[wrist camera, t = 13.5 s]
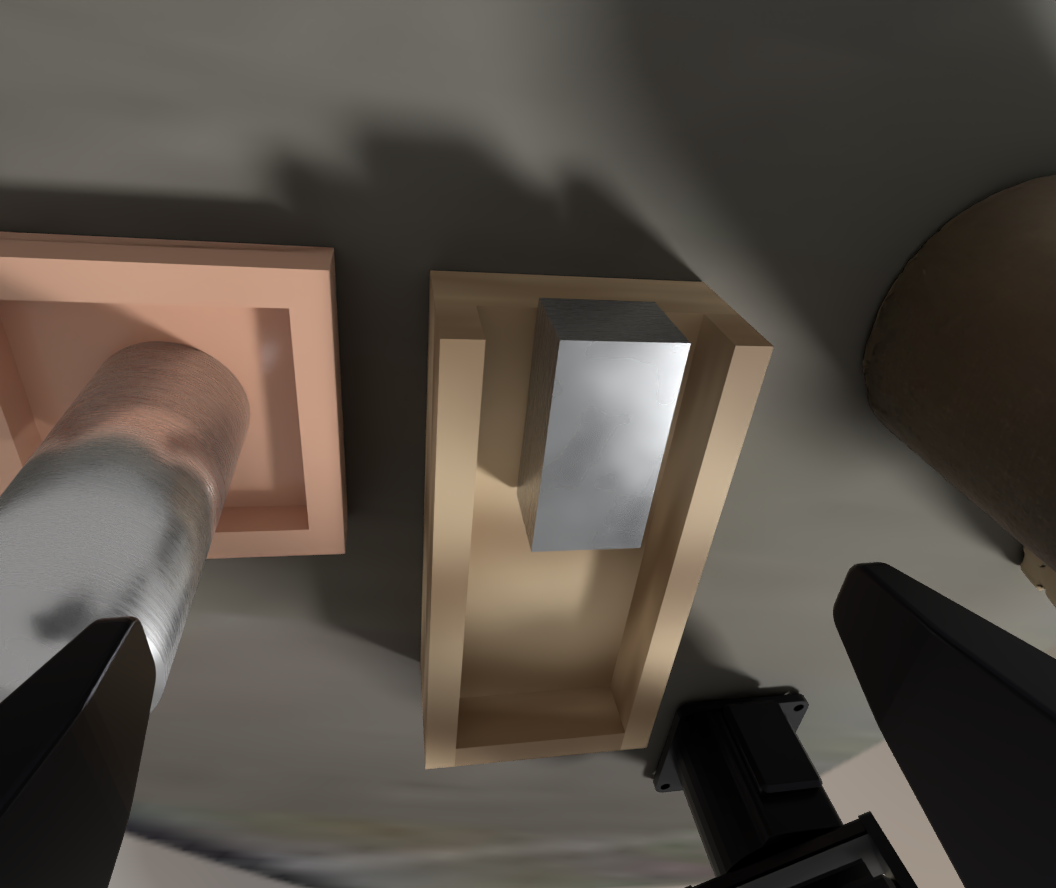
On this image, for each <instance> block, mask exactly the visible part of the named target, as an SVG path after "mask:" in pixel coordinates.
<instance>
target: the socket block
mask: <svg viewBox="0 0 1056 888" xmlns="http://www.w3.org/2000/svg"><path fill="white" fill-rule="evenodd" d="M539 298H563V299H591V300H619V301H647V302H656V304H657V305H658V306H659V307H660V308H661V309H662V311H663V312H664V313H665V314H666V315H667V316H668V318H669V319H670V320H671V321H672V322H673V323H674V324H675V326H676V327H677V328H678V329H679V330H680V331H681V333H682V334H683V335H684V336H685V337H686V338H687V340H688V341H689V342H690V343H691V344H690V349H689V353H688V357H687V361H686V365H685V369H684V373H683V377H682V381H681V385H680V389H679V393H678V397H677V401H676V405H675V409H674V413H673V417H672V421H671V426H670V430H669V434H668V438H667V442H666V446H665V450H664V454H663V458H662V462H661V466H660V470H659V474H658V478H657V482H656V486H655V490H654V494H653V499H652V503H651V507H650V511H649V515H648V519H647V523H646V527H645V531H644V535H643V539H642V543H641V547H640V548H624V549H598V550H571V551H545V552H531V549H530V545H529V541H528V537H527V533H526V529H525V525H524V522H523V518H522V514H521V510H520V506H519V502H518V498H517V486H518V478H519V469H520V460H521V451H522V442H523V434H524V425H525V416H526V407H527V398H528V390H529V381H530V372H531V363H532V354H533V346H534V337H535V328H536V319H537V310H538V302H539ZM773 348H774V346H773V345H772V344H771V343H769V342H768V341H767V340H766V339H765V338H764V337H763V336H762V335H761V334H760V333H759V332H757V331H756V330H755V329H754V328H753V327H752V326H751V325H750V324H749V323H748V322H746V321H745V320H744V319H743V318H742V317H741V316H740V315H739V314H738V313H737V312H736V311H734V310H733V309H732V308H731V307H730V306H729V305H728V304H727V303H726V302H725V301H724V300H722V299H721V298H720V297H719V296H718V295H717V294H716V293H715V292H714V291H713V290H712V289H710V288H709V287H708V286H707V285H706V284H705V283H704V282H692V281H669V280H645V279H622V278H598V277H575V276H551V275H528V274H505V273H481V272H458V271H434V270H430V293H429V334H428V375H427V417H426V458H425V499H424V540H423V581H422V622H421V663H420V664H421V685H422V707H423V728H424V750H425V769H433V768H443V767H454V766H464V765H474V764H484V763H494V762H505V761H515V760H525V759H535V758H545V757H556V756H566V755H576V754H586V753H596V752H607V751H617V750H627V749H637V748H646V747H647V744H648V741H649V738H650V735H651V731H652V728H653V725H654V722H655V719H656V716H657V713H658V709H659V706H660V703H661V700H662V697H663V694H664V691H665V687H666V684H667V681H668V678H669V675H670V672H671V669H672V665H673V662H674V659H675V656H676V653H677V650H678V647H679V643H680V640H681V637H682V634H683V631H684V628H685V625H686V621H687V618H688V615H689V612H690V609H691V606H692V603H693V599H694V596H695V593H696V590H697V587H698V584H699V581H700V577H701V574H702V571H703V568H704V565H705V562H706V559H707V555H708V552H709V549H710V546H711V543H712V540H713V537H714V533H715V530H716V527H717V524H718V521H719V518H720V515H721V511H722V508H723V505H724V502H725V499H726V496H727V493H728V489H729V486H730V483H731V480H732V477H733V474H734V471H735V467H736V464H737V461H738V458H739V455H740V452H741V449H742V445H743V442H744V439H745V436H746V433H747V430H748V426H749V423H750V420H751V417H752V414H753V411H754V408H755V404H756V401H757V398H758V395H759V392H760V389H761V386H762V382H763V379H764V376H765V373H766V370H767V367H768V364H769V360H770V357H771V354H772V351H773Z"/></svg>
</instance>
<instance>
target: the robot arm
mask: <svg viewBox="0 0 1056 888" xmlns="http://www.w3.org/2000/svg"><path fill="white" fill-rule="evenodd" d="M833 618H834V622H835V625H836V628H837V630H838V633H839V635H840V637H841V640H842V642H843V644H844V647H845V649H846V652H847V654H848V656H849V659H850V661H851V663H852V666H853V668H854V671H855V673H856V675H857V678H858V680H859V682H860V685H861V687H862V690H863V692H864V694H865V697H866V699H867V701H868V704H869V706H870V709H871V711H872V713H873V715H874V717H875V720H876V722H877V724H878V726H879V728H880V730H881V732H882V734H883V736H884V738H885V740H886V742H887V744H888V746H889V748H890V749H891V751H892V753H893V755H894V757H895V759H896V761H897V763H898V764H899V766H900V768H901V770H902V772H903V774H904V775H905V777H906V779H907V781H908V783H909V785H910V787H911V788H912V790H913V792H914V794H915V796H916V798H917V800H918V801H919V803H920V805H921V807H922V809H923V811H924V812H925V814H926V816H927V818H928V820H929V822H930V824H931V826H932V827H933V829H934V831H935V832H936V835H937V837H938V839H939V840H940V842H941V844H942V846H943V848H944V850H945V852H946V853H947V855H948V857H949V859H950V861H951V863H952V864H953V866H954V868H955V870H956V872H957V874H958V876H959V878H960V879H961V881H962V883H963V885H964V887H965V888H1056V659H1055V658H1053V657H1051V656H1049V655H1047V654H1046V653H1044V652H1042V651H1040V650H1039V649H1037V648H1035V647H1033V646H1032V645H1030V644H1028V643H1026V642H1024V641H1023V640H1021V639H1019V638H1017V637H1016V636H1014V635H1012V634H1010V633H1009V632H1007V631H1005V630H1003V629H1001V628H1000V627H998V626H996V625H994V624H993V623H991V622H989V621H987V620H986V619H984V618H982V617H980V616H978V615H977V614H975V613H973V612H971V611H970V610H968V609H966V608H964V607H963V606H961V605H959V604H957V603H955V602H954V601H952V600H950V599H948V598H947V597H945V596H943V595H941V594H940V593H938V592H936V591H934V590H932V589H931V588H929V587H927V586H925V585H924V584H922V583H920V582H918V581H917V580H915V579H913V578H911V577H909V576H908V575H906V574H904V573H902V572H901V571H899V570H897V569H895V568H894V567H892V566H890V565H888V564H886V563H881V562H873V563H859V564H855V565H854V566H852V567H851V568H850V569H849V571H848V573H847V575H846V578H845V580H844V582H843V585H842V587H841V589H840V592H839V594H838V597H837V599H836V601H835V604H834V607H833ZM155 682H156V667H155V662H154V659H153V656H152V653H151V650H150V647H149V644H148V641H147V638H146V635H145V632H144V629H143V626H142V624H141V622H140V621H139V619H138V618H136V617H133V616H124V617H110V618H101V619H97V620H96V621H94V622H92V623H91V624H89V625H88V626H87V627H86V628H85V629H84V630H83V631H81V632H80V633H79V634H78V635H77V636H76V637H75V638H73V639H72V640H71V641H70V642H69V643H68V644H67V645H65V646H64V647H63V648H62V649H61V650H60V651H59V652H57V653H56V654H55V655H54V656H53V657H52V658H51V659H50V660H48V661H47V662H46V663H45V664H44V665H43V666H42V667H40V668H39V669H38V670H37V671H36V672H35V673H34V674H32V675H31V676H30V677H29V678H28V679H27V680H26V681H24V682H23V683H22V684H21V685H20V686H19V687H18V688H16V689H15V690H14V691H13V692H12V693H11V694H10V695H8V696H7V697H6V698H5V699H4V700H3V701H2V702H0V888H108V885H109V882H110V879H111V875H112V872H113V869H114V866H115V862H116V859H117V856H118V853H119V850H120V847H121V843H122V840H123V837H124V833H125V830H126V826H127V823H128V819H129V816H130V811H131V806H132V802H133V797H134V792H135V787H136V782H137V777H138V772H139V766H140V761H141V756H142V751H143V746H144V740H145V735H146V730H147V725H148V720H149V714H150V709H151V704H152V699H153V694H154V688H155ZM808 706H809V704H808V702H807V700H806V699H805V697H804V695H802V694H793V695H781V696H769V697H758V698H746V699H734V700H723V701H711V702H699V703H689V704H685V705H683V706H681V707H680V708H678V710H677V712H676V715H675V718H674V721H673V724H672V727H671V730H670V733H669V736H668V738H667V741H666V744H665V747H664V750H663V753H662V756H661V759H660V762H659V765H658V768H657V771H656V774H655V777H654V779H653V783H654V786H655V789H656V791H657V792H671V791H680V790H683V791H684V794H685V796H686V799H687V802H688V805H689V807H690V810H691V813H692V815H693V818H694V821H695V823H696V826H697V829H698V832H699V834H700V837H701V840H702V842H703V845H704V848H705V851H706V853H707V856H708V859H709V861H710V864H711V867H712V870H713V872H714V875H715V878H714V879H711V880H709V881H706V882H704V883H701V884H699V885H697V886H694V887H692V886H691V885H690V886H688V887H685V888H918V887H917V885H916V884H915V882H914V881H913V879H912V877H911V876H910V874H909V873H908V871H907V869H906V868H905V866H904V865H903V863H902V861H901V860H900V858H899V856H898V855H897V853H896V852H895V850H894V848H893V847H892V845H891V844H890V842H889V840H888V839H887V837H886V836H885V834H884V832H883V831H882V829H881V828H880V826H879V824H878V823H877V821H876V820H875V818H874V816H873V815H872V813H871V812H870V811H869V812H867V813H864V814H862V815H859V816H858V817H859V819H856V820H854V821H852V822H849V823H847V824H844V825H843V823H842V821H841V819H840V818H839V816H838V814H837V812H836V810H835V808H834V806H833V804H832V803H831V801H830V799H829V797H828V795H827V794H826V792H825V790H824V788H823V786H822V780H821V778H820V776H819V774H818V772H817V771H816V769H815V767H814V765H813V763H812V762H811V760H810V758H809V756H808V754H807V752H806V751H805V749H804V747H803V745H802V743H801V742H800V740H799V738H798V736H797V734H796V730H797V728H798V727H799V725H800V723H801V721H802V719H803V717H804V715H805V713H806V711H807V709H808ZM883 874H885V876H884V875H883Z"/></svg>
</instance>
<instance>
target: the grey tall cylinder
mask: <svg viewBox="0 0 1056 888" xmlns="http://www.w3.org/2000/svg"><path fill="white" fill-rule="evenodd" d="M250 417H251V414H250V405H249V400H248V397H247V395H246V392H245V390H244V388H243V387H242V385H241V383H240V382H239V380H238V379H237V378H236V376H235V375H234V374H233V373H232V372H231V371H230V370H229V369H228V368H227V367H226V366H225V365H223V364H222V363H221V362H220V361H218V360H217V359H215V358H214V357H212V356H211V355H209V354H207V353H205V352H203V351H201V350H198V349H196V348H193V347H190V346H187V345H183V344H179V343H173V342H164V341H152V342H143V343H138V344H134V345H131V346H128V347H126V348H123V349H121V350H119V351H117V352H116V353H114V354H113V355H111V356H110V357H109V358H108V359H107V360H106V361H105V362H104V363H103V364H102V365H101V367H100V368H99V369H98V371H97V372H96V373H95V374H94V376H93V377H92V378H91V380H90V381H89V382H88V383H87V385H86V386H85V387H84V389H83V390H82V391H81V392H80V394H79V395H78V396H77V398H76V399H75V400H74V402H73V403H72V404H71V405H70V407H69V408H68V409H67V411H66V412H65V413H64V414H63V416H62V417H61V418H60V420H59V421H58V422H57V423H56V425H55V426H54V427H53V429H52V430H51V431H50V433H49V434H48V435H47V436H46V438H45V439H44V440H43V442H42V443H41V444H40V445H39V447H38V448H37V449H36V451H35V452H34V453H33V454H32V456H31V457H30V458H29V460H28V461H27V462H26V463H25V465H24V466H23V467H22V469H21V470H20V471H19V473H18V474H17V475H16V476H15V478H14V479H13V480H12V482H11V483H10V484H9V485H8V487H7V488H6V489H5V491H4V492H3V493H2V494H1V496H0V702H2V701H3V700H4V699H5V698H6V697H7V696H8V695H10V694H11V693H12V692H13V691H14V690H15V689H16V688H18V687H19V686H20V685H21V684H22V683H23V682H24V681H26V680H27V679H28V678H29V677H30V676H31V675H32V674H34V673H35V672H36V671H37V670H38V669H39V668H40V667H42V666H43V665H44V664H45V663H46V662H47V661H48V660H50V659H51V658H52V657H53V656H54V655H55V654H56V653H57V652H59V651H60V650H61V649H62V648H63V647H64V646H65V645H67V644H68V643H69V642H70V641H71V640H72V639H73V638H75V637H76V636H77V635H78V634H79V633H80V632H81V631H83V630H84V629H85V628H86V627H87V626H88V625H89V624H91V623H92V622H94V621H96V620H97V619H101V618H110V617H124V616H133V617H136V618H138V619H139V621H140V622H141V624H142V626H143V629H144V632H145V635H146V638H147V641H148V644H149V647H150V650H151V653H152V656H153V659H154V662H155V667H156V682H155V688H154V694H153V699H152V704H151V709H150V713H151V712H152V711H153V709H154V708H155V707H156V705H157V704H158V702H159V700H160V698H161V696H162V694H163V691H164V688H165V684H166V681H167V678H168V675H169V672H170V669H171V666H172V663H173V660H174V657H175V654H176V651H177V647H178V644H179V641H180V638H181V635H182V632H183V629H184V626H185V623H186V620H187V617H188V614H189V610H190V607H191V604H192V601H193V598H194V595H195V592H196V589H197V586H198V583H199V580H200V577H201V573H202V570H203V567H204V564H205V561H206V558H207V555H208V552H209V549H210V546H211V543H212V540H213V536H214V533H215V530H216V527H217V524H218V521H219V518H220V515H221V512H222V509H223V506H224V503H225V499H226V496H227V493H228V490H229V487H230V484H231V481H232V478H233V475H234V472H235V469H236V466H237V462H238V459H239V456H240V453H241V450H242V447H243V444H244V441H245V438H246V435H247V432H248V428H249V425H250Z"/></svg>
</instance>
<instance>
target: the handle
mask: <svg viewBox="0 0 1056 888" xmlns="http://www.w3.org/2000/svg"><path fill="white" fill-rule="evenodd" d="M1023 550H1024V552H1025V556H1024V559H1023V562H1022V563H1021V564H1020V566H1021V570H1022V571H1023V573H1024V574H1025V575H1026V577H1027V578H1028V579H1029V580H1030V582H1031V583H1032V584H1033V585H1034V586H1035V587H1036V588H1037V589H1038V590H1039V591H1041V590H1043V589H1046V591H1045V593H1046V595H1047V597H1048V598H1049V600H1050V601H1051V602H1052V604H1053V605H1054V606H1055V607H1056V572H1055V571H1053V570H1052V569H1051V568H1050V567H1049V566H1048V565H1047V564H1046V563H1044V562H1043V561H1042V560H1041V559H1039V558H1038V557H1037V556H1036V555H1035V554H1034V553H1032V552H1031V551H1030V550H1028V549H1027V548H1026V547H1025V546H1024V547H1023Z"/></svg>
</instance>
